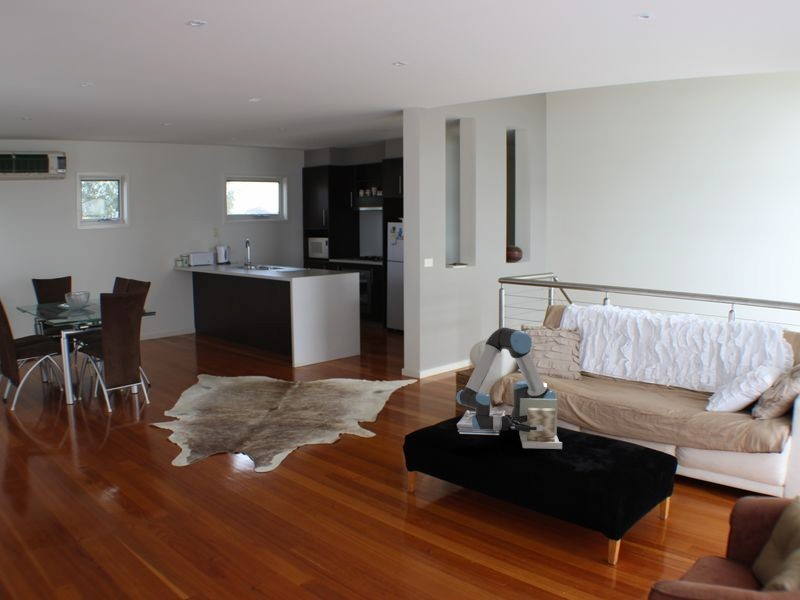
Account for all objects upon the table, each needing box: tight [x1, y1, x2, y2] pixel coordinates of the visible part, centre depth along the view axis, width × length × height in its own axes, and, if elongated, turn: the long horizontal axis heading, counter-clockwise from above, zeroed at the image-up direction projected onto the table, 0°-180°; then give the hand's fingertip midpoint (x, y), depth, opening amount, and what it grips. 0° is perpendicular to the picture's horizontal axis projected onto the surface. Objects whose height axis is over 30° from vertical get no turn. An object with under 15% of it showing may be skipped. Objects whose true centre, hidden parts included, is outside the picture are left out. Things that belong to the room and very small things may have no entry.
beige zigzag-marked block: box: [527, 408, 555, 441], centre depth 379 cm, size 14×4×18 cm, turn 86°
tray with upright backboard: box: [518, 398, 563, 450], centre depth 380 cm, size 20×22×21 cm
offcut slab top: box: [536, 437, 555, 442], centre depth 374 cm, size 9×3×2 cm, turn 86°
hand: (541, 423), depth 379 cm, fingers open, 13 cm apart
